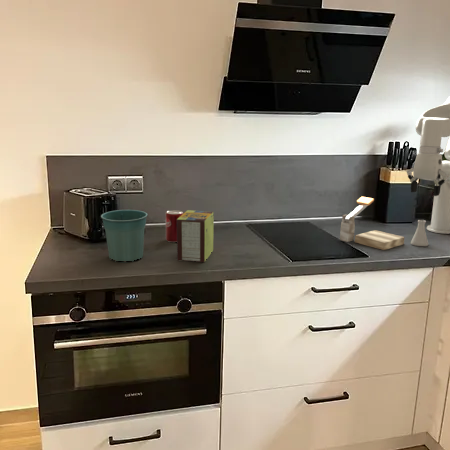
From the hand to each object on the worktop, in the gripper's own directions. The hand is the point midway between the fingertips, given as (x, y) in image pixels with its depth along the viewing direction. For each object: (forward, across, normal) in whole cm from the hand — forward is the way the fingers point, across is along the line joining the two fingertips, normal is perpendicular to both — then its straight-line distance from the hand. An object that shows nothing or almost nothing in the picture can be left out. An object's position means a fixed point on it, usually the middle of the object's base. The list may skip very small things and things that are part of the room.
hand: (424, 193), depth 209 cm
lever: (+10, +22, +12) cm, 27 cm away
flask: (+21, 0, 0) cm, 21 cm away
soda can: (+22, +64, +76) cm, 102 cm away
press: (+21, +14, +13) cm, 28 cm away
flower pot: (+22, +56, +104) cm, 120 cm away
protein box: (+22, +43, +82) cm, 95 cm away
